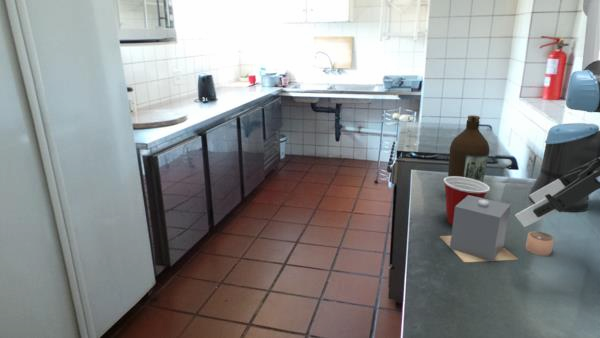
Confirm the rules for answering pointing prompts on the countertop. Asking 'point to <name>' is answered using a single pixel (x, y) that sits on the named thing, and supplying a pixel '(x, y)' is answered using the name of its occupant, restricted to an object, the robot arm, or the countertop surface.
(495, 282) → the countertop surface
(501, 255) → the oak board
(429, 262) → the countertop surface
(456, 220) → the grey knobbed cube
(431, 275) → the countertop surface
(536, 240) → the terracotta pot
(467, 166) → the brown glass bottle shape
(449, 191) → the plastic cup
